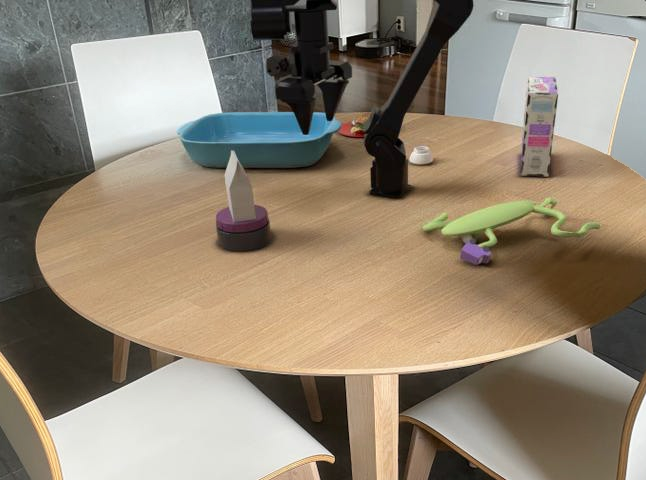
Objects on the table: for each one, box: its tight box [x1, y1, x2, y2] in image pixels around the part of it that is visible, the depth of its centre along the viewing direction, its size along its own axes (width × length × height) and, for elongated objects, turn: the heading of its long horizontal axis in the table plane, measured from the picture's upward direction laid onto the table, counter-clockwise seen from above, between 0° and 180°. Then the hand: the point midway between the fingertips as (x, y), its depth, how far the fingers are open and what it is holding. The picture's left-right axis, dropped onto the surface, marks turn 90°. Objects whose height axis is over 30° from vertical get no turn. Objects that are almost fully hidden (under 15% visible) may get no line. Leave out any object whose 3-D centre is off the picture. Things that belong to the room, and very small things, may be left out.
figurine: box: [422, 196, 601, 266], centre depth 121 cm, size 18×27×6 cm
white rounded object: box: [409, 145, 434, 166], centre depth 157 cm, size 5×3×5 cm
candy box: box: [520, 76, 559, 178], centre depth 148 cm, size 14×6×16 cm, turn 168°
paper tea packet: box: [223, 150, 256, 222], centre depth 122 cm, size 4×7×10 cm, turn 15°
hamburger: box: [336, 111, 371, 138], centre depth 177 cm, size 14×14×6 cm
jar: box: [215, 218, 272, 253], centre depth 127 cm, size 9×9×4 cm
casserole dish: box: [176, 111, 343, 169], centre depth 163 cm, size 37×22×7 cm, turn 80°
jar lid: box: [215, 204, 269, 233], centre depth 125 cm, size 9×9×2 cm
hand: (317, 127), depth 137 cm, fingers open, 9 cm apart
